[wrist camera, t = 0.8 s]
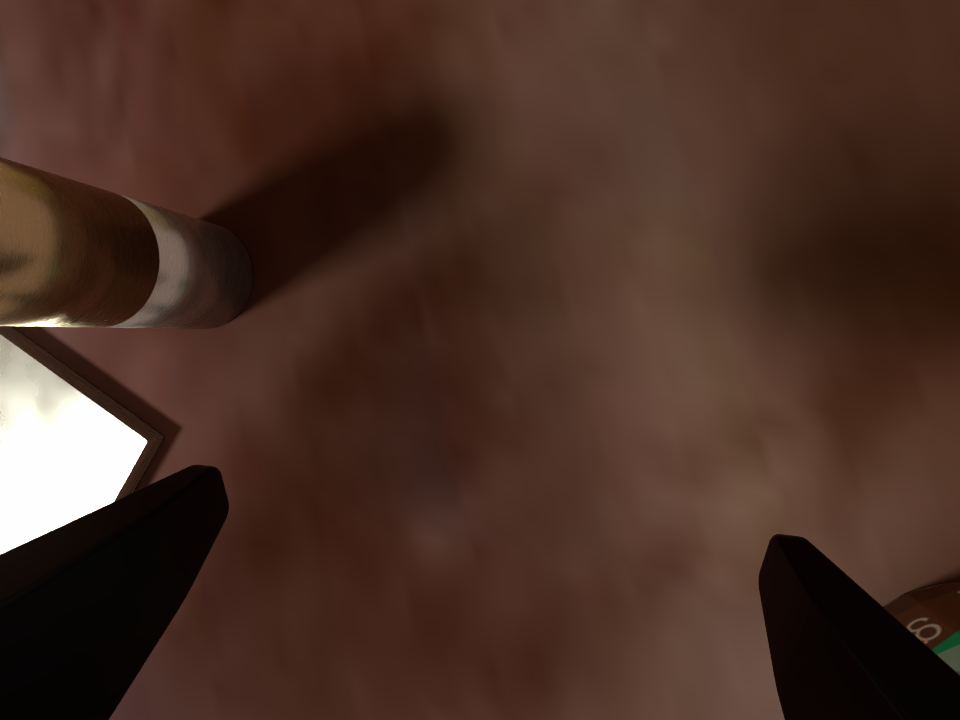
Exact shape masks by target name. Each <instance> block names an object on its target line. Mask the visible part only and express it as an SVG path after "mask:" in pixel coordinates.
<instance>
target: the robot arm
mask: <svg viewBox="0 0 960 720" xmlns="http://www.w3.org/2000/svg"><path fill="white" fill-rule="evenodd" d="M228 510H229V503H228V498H227V494H226V491H225V487H224V483H223V479H222V475H221V472H220V471H219V470H218V468H216V467H212V466H204V465H192V466H189V467H187V468H185V469H183V470H181V471H179V472H177V473H174V474H172V475H170V476H168V477H166V478H164V479H161V480H159V481H157V482H155V483H153V484H151V485H149V486H146V487H144V488H142V489H140V490H138V491H136V492H133V493H131V494H129V495H127V496H125V497H123V498H121V499H118V500H116V501H114V502H112V503H110V504H108V505H105V506H103V507H101V508H99V509H97V510H95V511H93V512H90V513H88V514H86V515H84V516H82V517H80V518H77V519H75V520H73V521H71V522H69V523H67V524H65V525H62V526H60V527H58V528H56V529H54V530H52V531H49V532H47V533H45V534H43V535H41V536H39V537H36V538H34V539H32V540H30V541H28V542H26V543H24V544H21V545H19V546H17V547H15V548H13V549H11V550H8V551H6V552H4V553H2V554H0V720H109V718H110V717H111V715H112V714H113V712H114V711H115V709H116V707H117V706H118V704H119V703H120V701H121V700H122V698H123V696H124V695H125V693H126V692H127V690H128V688H129V687H130V685H131V684H132V682H133V681H134V679H135V677H136V676H137V674H138V673H139V671H140V670H141V668H142V666H143V665H144V663H145V662H146V660H147V658H148V657H149V655H150V654H151V652H152V651H153V649H154V647H155V646H156V644H157V643H158V641H159V640H160V638H161V636H162V635H163V633H164V632H165V630H166V628H167V627H168V625H169V624H170V622H171V621H172V619H173V617H174V616H175V614H176V613H177V611H178V609H179V608H180V606H181V604H182V603H183V601H184V599H185V598H186V596H187V594H188V592H189V590H190V589H191V587H192V585H193V583H194V581H195V579H196V577H197V575H198V573H199V571H200V569H201V567H202V565H203V563H204V561H205V559H206V557H207V555H208V553H209V551H210V549H211V547H212V545H213V543H214V542H215V540H216V538H217V536H218V534H219V532H220V530H221V528H222V526H223V524H224V522H225V520H226V517H227V514H228ZM759 591H760V597H761V603H762V609H763V614H764V620H765V626H766V632H767V637H768V643H769V649H770V654H771V660H772V666H773V672H774V677H775V682H776V687H777V692H778V696H779V699H780V703H781V707H782V711H783V714H784V718H785V720H960V675H959V674H958V673H957V672H956V671H955V670H954V669H952V668H951V667H950V666H949V665H948V664H947V663H946V662H944V661H943V660H942V659H941V658H940V657H939V656H938V655H937V654H935V653H934V652H933V651H932V650H931V649H930V648H929V647H928V646H926V645H925V644H924V643H923V642H922V641H921V640H920V639H919V638H917V637H916V636H915V635H914V634H913V633H912V632H911V631H910V630H908V629H907V628H906V627H905V626H904V625H903V624H902V623H900V622H899V621H898V620H897V619H896V618H895V617H894V616H893V615H891V614H890V613H889V612H888V611H887V610H886V609H885V608H884V607H882V606H881V605H880V604H879V603H878V602H877V601H876V600H875V599H873V598H872V597H871V596H870V595H869V594H868V593H867V592H866V591H864V590H863V589H862V588H861V587H860V586H859V585H858V584H856V583H855V582H854V581H853V580H852V579H851V578H850V577H849V576H847V575H846V574H845V573H844V572H843V571H842V570H841V569H840V568H838V567H837V566H836V565H835V564H834V563H833V562H832V561H831V560H829V559H828V558H827V557H826V556H825V555H824V554H823V553H822V552H820V551H819V550H818V549H817V548H816V547H815V546H814V545H812V544H811V543H810V542H809V541H808V540H806V539H805V538H803V537H799V536H791V535H783V534H776V535H774V536H773V537H772V538H771V540H770V542H769V545H768V548H767V551H766V554H765V557H764V560H763V563H762V567H761V570H760V573H759Z"/></svg>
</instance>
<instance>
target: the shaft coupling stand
mask: <svg viewBox="0 0 960 720" xmlns="http://www.w3.org/2000/svg"><path fill="white" fill-rule="evenodd" d="M163 438H164V436H163V435H161V434H160V433H159V432H157V431H156V430H154V429H153V428H152V427H150V426H149V425H147V424H146V423H145V422H143V421H142V420H140V419H139V418H138V417H136V416H135V415H134V414H132V413H131V412H129V411H128V410H127V409H125V408H124V407H122V406H121V405H120V404H118V403H117V402H115V401H114V400H113V399H111V398H110V397H109V396H107V395H106V394H104V393H103V392H102V391H100V390H99V389H97V388H96V387H95V386H93V385H92V384H90V383H89V382H88V381H86V380H85V379H84V378H82V377H81V376H79V375H78V374H77V373H75V372H74V371H72V370H71V369H70V368H68V367H67V366H65V365H64V364H63V363H61V362H60V361H59V360H57V359H56V358H54V357H53V356H52V355H50V354H49V353H47V352H46V351H45V350H43V349H42V348H40V347H39V346H38V345H36V344H35V343H34V342H32V341H31V340H29V339H28V338H27V337H25V336H24V335H22V334H21V333H20V332H18V331H17V330H15V329H14V328H13V327H11V326H0V554H2V553H4V552H6V551H8V550H11V549H13V548H15V547H17V546H19V545H21V544H24V543H26V542H28V541H30V540H32V539H34V538H36V537H39V536H41V535H43V534H45V533H47V532H49V531H52V530H54V529H56V528H58V527H60V526H62V525H65V524H67V523H69V522H71V521H73V520H75V519H77V518H80V517H82V516H84V515H86V514H88V513H90V512H93V511H95V510H97V509H99V508H101V507H103V506H105V505H108V504H110V503H112V502H114V501H116V500H118V499H121V498H123V497H125V496H127V495H129V494H131V493H133V492H134V490H135V488H136V486H137V485H138V483H139V481H140V479H141V477H142V476H143V474H144V472H145V470H146V469H147V467H148V465H149V463H150V462H151V460H152V458H153V456H154V454H155V453H156V451H157V449H158V447H159V446H160V444H161V442H162V440H163Z"/></svg>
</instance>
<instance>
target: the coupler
mask: <svg viewBox="0 0 960 720" xmlns="http://www.w3.org/2000/svg"><path fill="white" fill-rule="evenodd" d="M252 285H253V269H252V263H251V260H250V256H249V254H248V252H247V250H246V248H245V246H244V245H243V243H242V242H241V241H240V239H239V238H238V237H237V236H236V235H234V234H233V233H232V232H231V231H229V230H227V229H226V228H224V227H221V226H219V225H216V224H213V223H209V222H206V221H203V220H200V219H197V218H193V217H190V216H187V215H184V214H181V213H177V212H174V211H171V210H168V209H165V208H161V207H158V206H155V205H152V204H148V203H145V202H142V201H139V200H136V199H132V198H129V197H126V196H123V195H120V194H116V193H113V192H110V191H107V190H104V189H100V188H97V187H94V186H91V185H87V184H84V183H81V182H78V181H75V180H71V179H68V178H65V177H62V176H59V175H55V174H52V173H49V172H46V171H43V170H39V169H36V168H33V167H30V166H26V165H23V164H20V163H17V162H14V161H10V160H7V159H4V158H1V157H0V326H37V327H108V328H180V329H211V328H216V327H219V326H222V325H224V324H226V323H228V322H230V321H231V320H233V319H234V318H235V317H236V316H237V315H238V314H239V313H240V312H241V311H242V309H243V308H244V306H245V305H246V303H247V301H248V299H249V296H250V293H251V290H252Z"/></svg>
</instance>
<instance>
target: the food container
mask: <svg viewBox="0 0 960 720" xmlns="http://www.w3.org/2000/svg"><path fill="white" fill-rule="evenodd" d="M883 607H884V608H885V609H886V610H887V611H888V612H889V613H890V614H891V615H893V616H894V617H895V618H896V619H897V620H898V621H899V622H900V623H902V624H903V625H904V626H905V627H906V628H907V629H908V630H910V631H911V632H912V633H913V634H914V635H915V636H916V637H917V638H919V639H920V640H921V641H922V642H923V643H924V644H925V645H926V646H928V647H929V648H930V649H931V650H932V651H933V652H934V653H935V654H937V655H938V656H939V657H940V658H941V659H942V660H943V661H944V662H946V663H947V664H948V665H949V666H950V667H951V668H952V669H954V670H955V671H956V672H957V673H958V674H959V675H960V582H948V583H944V584H940V585H936V586H932V587H928V588H924V589H920V590H916V591H912V592H908V593H905V594H903V595H901V596H900V597H898V598H896V599H895V600H893V601H892V602H890V603H888V604H887V605H885V606H883Z"/></svg>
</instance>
